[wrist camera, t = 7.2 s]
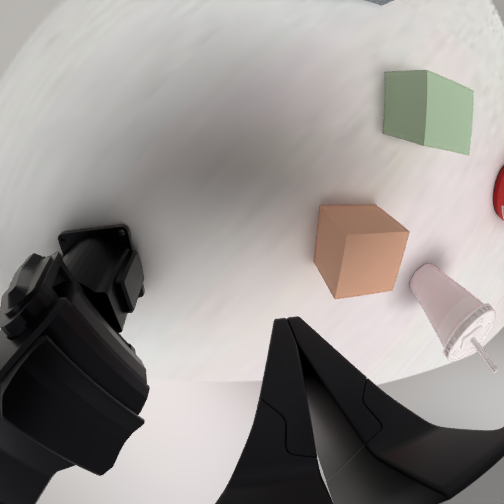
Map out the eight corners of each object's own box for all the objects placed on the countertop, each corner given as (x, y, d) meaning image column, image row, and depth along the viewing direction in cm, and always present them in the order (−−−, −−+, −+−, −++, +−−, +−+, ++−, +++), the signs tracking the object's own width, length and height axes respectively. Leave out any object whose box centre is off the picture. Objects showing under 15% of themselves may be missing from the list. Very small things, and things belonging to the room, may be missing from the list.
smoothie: (420, 246, 23) (512, 343, 11) (451, 259, 25) (528, 340, 13) (389, 297, 26) (458, 401, 14) (423, 303, 28) (485, 390, 16)
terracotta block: (313, 261, 23) (334, 299, 18) (319, 204, 20) (346, 234, 16) (365, 256, 23) (392, 290, 19) (375, 204, 21) (409, 231, 16)
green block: (382, 133, 18) (423, 145, 13) (384, 72, 15) (427, 70, 11) (427, 140, 18) (468, 155, 14) (430, 85, 16) (473, 90, 11)
